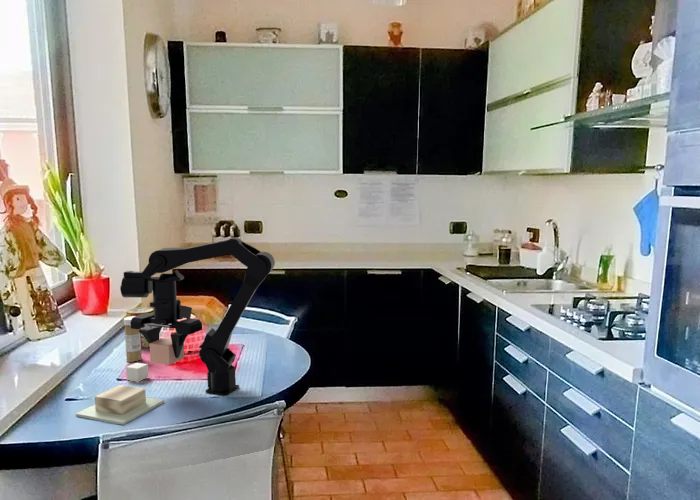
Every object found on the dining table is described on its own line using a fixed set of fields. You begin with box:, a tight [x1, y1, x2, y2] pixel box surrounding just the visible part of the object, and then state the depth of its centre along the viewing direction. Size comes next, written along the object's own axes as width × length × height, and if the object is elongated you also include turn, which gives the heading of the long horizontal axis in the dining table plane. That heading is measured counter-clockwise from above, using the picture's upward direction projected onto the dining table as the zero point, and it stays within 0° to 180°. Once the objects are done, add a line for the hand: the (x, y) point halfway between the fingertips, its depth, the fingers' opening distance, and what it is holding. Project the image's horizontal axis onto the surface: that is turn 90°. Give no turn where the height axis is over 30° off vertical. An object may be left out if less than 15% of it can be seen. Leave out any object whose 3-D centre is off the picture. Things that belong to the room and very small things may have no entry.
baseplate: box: [75, 396, 165, 426], centre depth 136 cm, size 14×14×1 cm
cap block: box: [125, 362, 149, 383], centre depth 156 cm, size 4×4×4 cm
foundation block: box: [94, 384, 147, 415], centre depth 136 cm, size 8×8×4 cm
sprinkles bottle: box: [123, 316, 143, 363], centre depth 172 cm, size 5×5×14 cm
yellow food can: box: [125, 306, 154, 350], centre depth 189 cm, size 9×9×12 cm
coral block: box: [149, 337, 185, 366], centre depth 147 cm, size 6×6×5 cm
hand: (167, 356), depth 147 cm, fingers closed on coral block, 6 cm apart
